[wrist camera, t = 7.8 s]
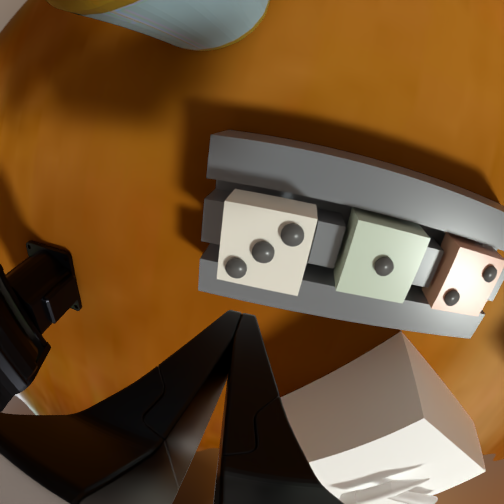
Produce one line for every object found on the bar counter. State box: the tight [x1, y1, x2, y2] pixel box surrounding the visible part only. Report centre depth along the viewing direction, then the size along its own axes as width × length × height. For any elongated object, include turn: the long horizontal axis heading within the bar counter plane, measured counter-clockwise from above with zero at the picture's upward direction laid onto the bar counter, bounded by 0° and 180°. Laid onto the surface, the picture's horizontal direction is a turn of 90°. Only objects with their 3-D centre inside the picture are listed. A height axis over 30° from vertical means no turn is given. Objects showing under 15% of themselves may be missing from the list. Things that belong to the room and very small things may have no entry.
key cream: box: [217, 189, 318, 296], centre depth 14 cm, size 4×4×2 cm
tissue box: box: [280, 331, 486, 504], centre depth 22 cm, size 14×25×11 cm, turn 47°
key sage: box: [333, 207, 431, 303], centre depth 15 cm, size 4×4×2 cm
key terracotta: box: [422, 232, 504, 316], centre depth 14 cm, size 4×4×2 cm
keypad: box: [198, 130, 504, 339], centre depth 16 cm, size 19×9×4 cm, turn 82°
